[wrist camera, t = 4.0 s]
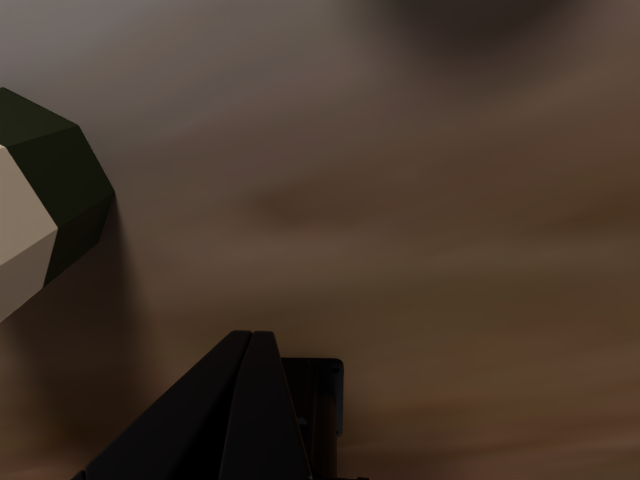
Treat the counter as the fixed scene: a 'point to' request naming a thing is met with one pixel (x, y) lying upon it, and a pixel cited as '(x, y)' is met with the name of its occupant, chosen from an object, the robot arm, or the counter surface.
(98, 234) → the wine bottle
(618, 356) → the counter surface
